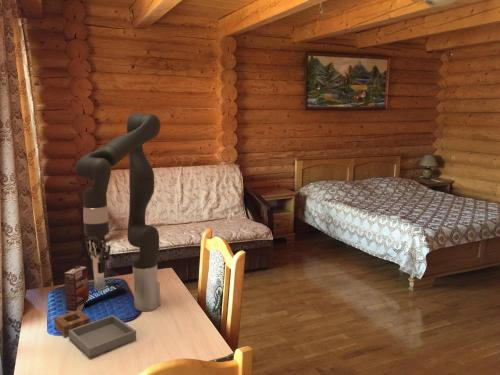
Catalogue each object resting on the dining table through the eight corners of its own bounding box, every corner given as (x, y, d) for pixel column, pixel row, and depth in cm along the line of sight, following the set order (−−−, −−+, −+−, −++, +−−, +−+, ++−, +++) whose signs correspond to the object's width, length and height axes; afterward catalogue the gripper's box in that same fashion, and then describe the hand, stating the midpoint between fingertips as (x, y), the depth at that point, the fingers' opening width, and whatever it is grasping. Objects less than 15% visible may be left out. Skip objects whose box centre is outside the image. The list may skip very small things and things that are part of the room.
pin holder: (79, 319, 156) (79, 309, 156) (90, 328, 150) (89, 317, 149) (54, 328, 150) (53, 317, 149) (64, 337, 144) (63, 326, 143)
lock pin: (102, 285, 142) (100, 247, 140) (108, 288, 139) (106, 250, 137) (90, 288, 139) (88, 250, 137) (96, 292, 136) (94, 253, 134)
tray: (113, 323, 154) (113, 314, 153) (136, 340, 142) (135, 331, 142) (69, 339, 142) (68, 330, 142) (90, 359, 131) (89, 349, 131)
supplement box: (77, 313, 161) (74, 274, 158) (65, 312, 162) (63, 273, 159) (90, 304, 169) (87, 266, 166) (79, 302, 170) (76, 265, 167)
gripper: (117, 222, 133) (120, 274, 136) (97, 214, 143) (100, 263, 146) (94, 226, 128) (97, 280, 131) (75, 217, 137) (78, 268, 140)
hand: (99, 270), depth 138 cm, fingers closed on lock pin, 3 cm apart
